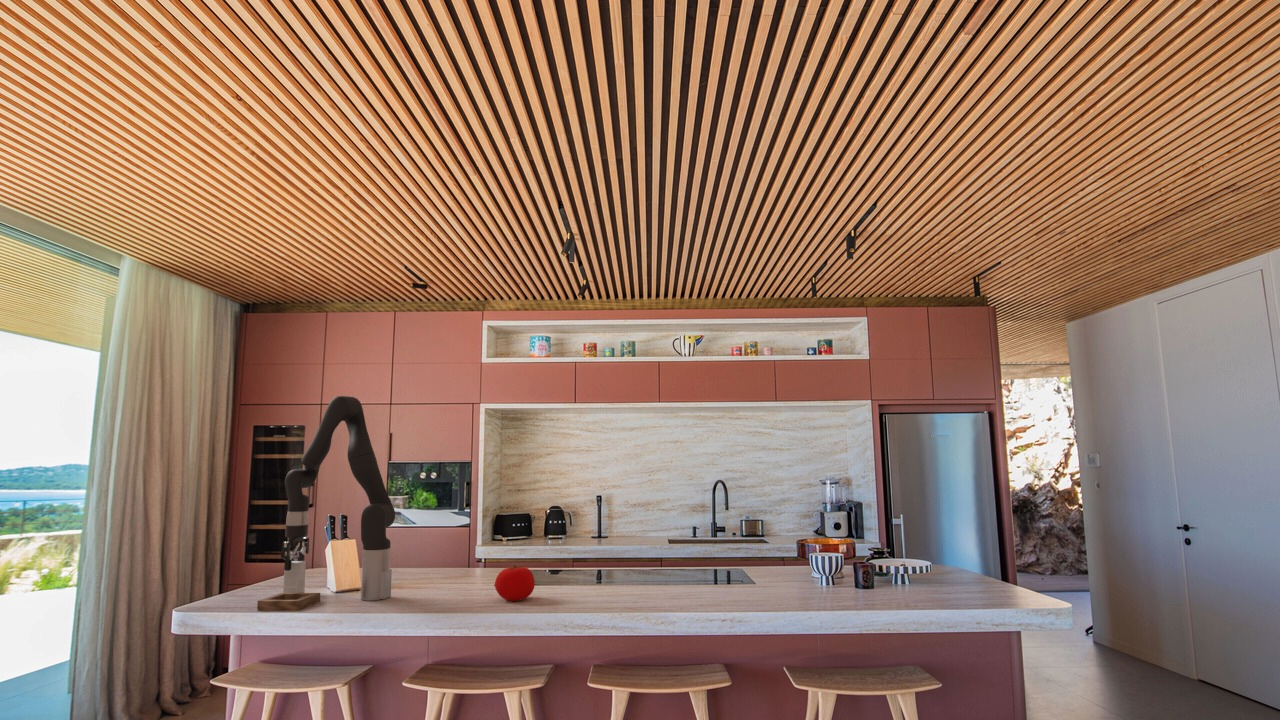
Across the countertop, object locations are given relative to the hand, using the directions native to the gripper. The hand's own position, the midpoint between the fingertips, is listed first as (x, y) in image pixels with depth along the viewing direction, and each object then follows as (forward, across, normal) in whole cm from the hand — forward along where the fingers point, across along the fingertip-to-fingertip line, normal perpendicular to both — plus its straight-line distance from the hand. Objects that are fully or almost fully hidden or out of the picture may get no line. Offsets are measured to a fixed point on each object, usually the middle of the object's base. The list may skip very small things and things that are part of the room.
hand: (294, 568), depth 259 cm
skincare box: (+10, 0, 0) cm, 10 cm away
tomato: (+8, -6, -84) cm, 85 cm away
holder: (+9, -18, -9) cm, 22 cm away
